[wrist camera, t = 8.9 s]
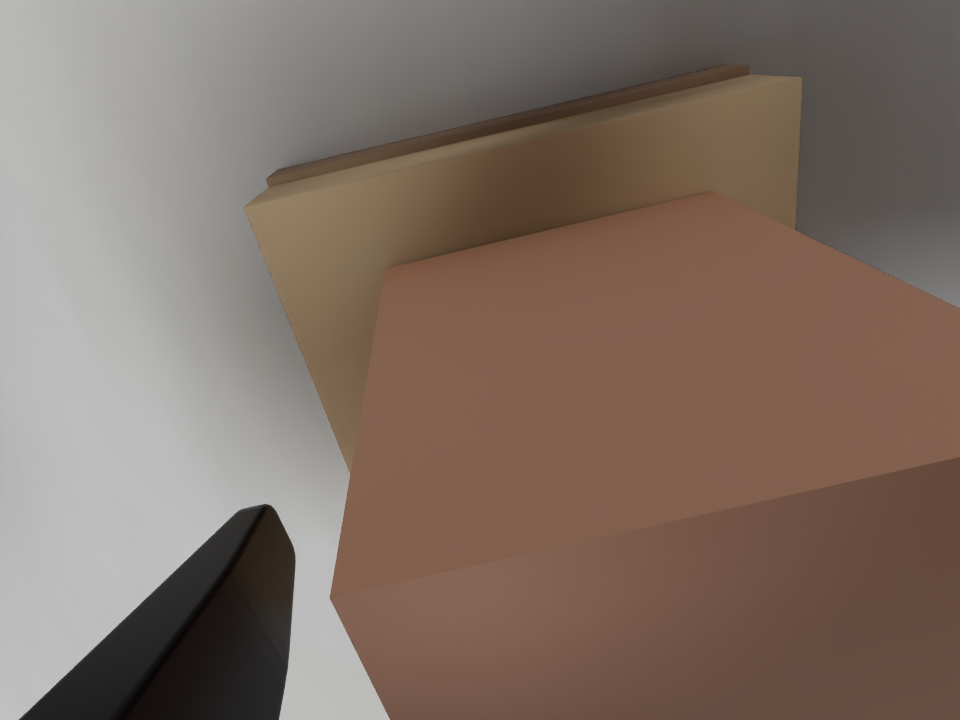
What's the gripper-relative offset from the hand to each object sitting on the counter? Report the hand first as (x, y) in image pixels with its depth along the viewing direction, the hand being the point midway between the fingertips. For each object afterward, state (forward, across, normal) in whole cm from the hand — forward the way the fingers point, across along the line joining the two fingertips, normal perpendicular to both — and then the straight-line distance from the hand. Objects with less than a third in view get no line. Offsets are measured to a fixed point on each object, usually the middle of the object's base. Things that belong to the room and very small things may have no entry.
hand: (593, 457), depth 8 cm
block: (+2, 0, 0) cm, 2 cm away
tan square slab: (+4, 0, 0) cm, 4 cm away
